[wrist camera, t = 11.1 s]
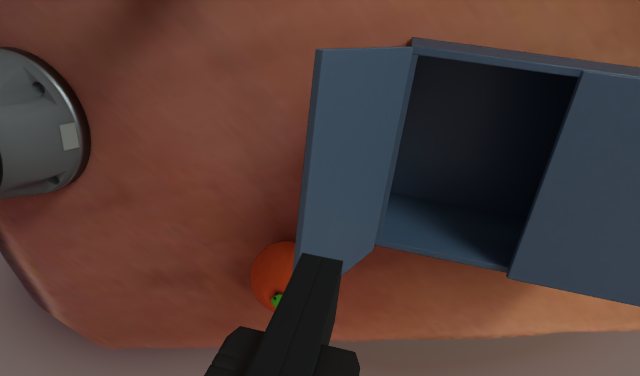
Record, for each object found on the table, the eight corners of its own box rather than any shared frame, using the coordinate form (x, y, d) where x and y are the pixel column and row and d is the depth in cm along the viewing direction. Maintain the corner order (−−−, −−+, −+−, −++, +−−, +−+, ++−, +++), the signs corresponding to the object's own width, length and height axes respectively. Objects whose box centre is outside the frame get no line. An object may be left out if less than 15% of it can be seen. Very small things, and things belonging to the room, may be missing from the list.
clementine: (347, 270, 43) (336, 315, 36) (302, 302, 46) (284, 349, 39) (294, 216, 42) (272, 253, 35) (251, 252, 45) (223, 292, 38)
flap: (373, 250, 29) (368, 247, 30) (413, 47, 24) (407, 46, 24) (293, 315, 22) (287, 312, 23) (323, 50, 17) (315, 48, 17)
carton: (381, 193, 39) (371, 250, 29) (412, 37, 33) (411, 46, 24) (592, 234, 36) (653, 310, 27) (665, 71, 30) (775, 96, 21)
